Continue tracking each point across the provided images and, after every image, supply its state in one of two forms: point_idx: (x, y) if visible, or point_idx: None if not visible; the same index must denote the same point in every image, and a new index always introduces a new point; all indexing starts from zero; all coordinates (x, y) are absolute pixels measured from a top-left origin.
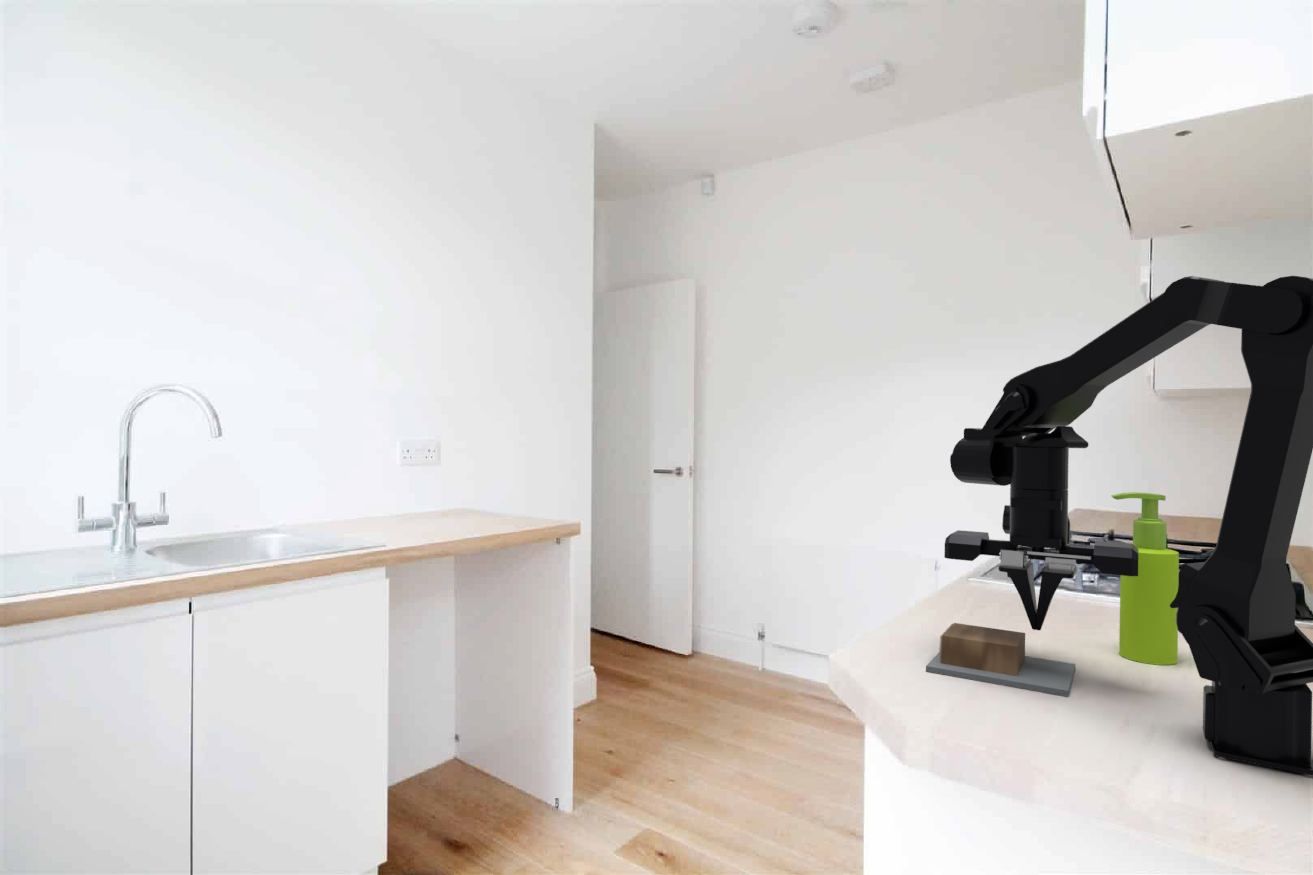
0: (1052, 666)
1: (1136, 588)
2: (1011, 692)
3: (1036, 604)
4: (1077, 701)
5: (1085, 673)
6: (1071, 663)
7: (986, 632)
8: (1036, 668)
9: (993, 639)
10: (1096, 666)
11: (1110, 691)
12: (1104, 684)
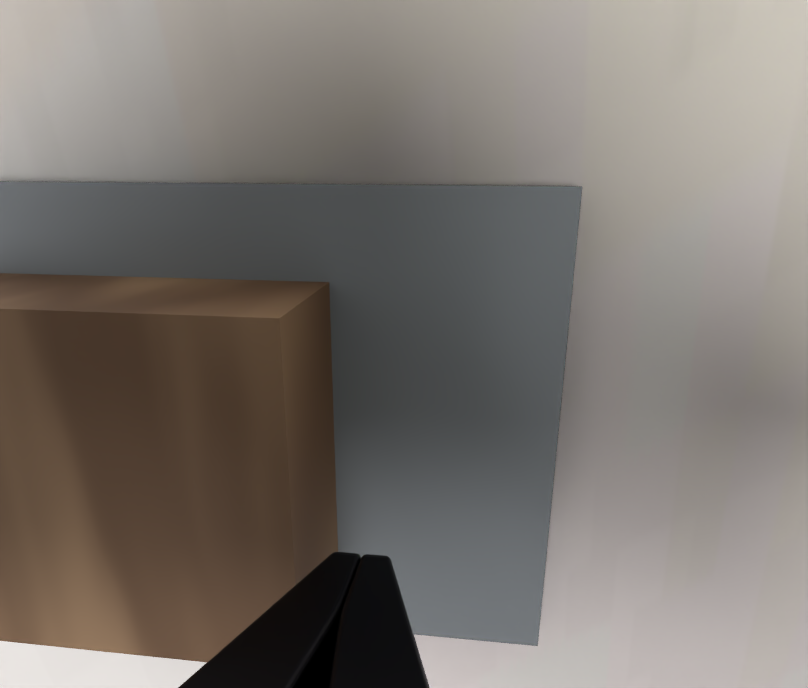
0: (465, 318)
1: None
2: None
3: (298, 683)
4: (567, 656)
5: (623, 237)
6: (560, 192)
7: (80, 450)
8: (397, 398)
9: (162, 588)
10: (700, 29)
11: (709, 478)
12: (697, 385)
